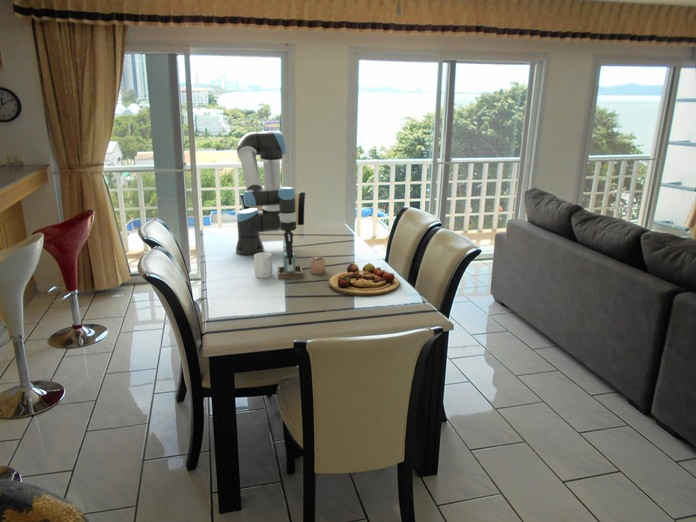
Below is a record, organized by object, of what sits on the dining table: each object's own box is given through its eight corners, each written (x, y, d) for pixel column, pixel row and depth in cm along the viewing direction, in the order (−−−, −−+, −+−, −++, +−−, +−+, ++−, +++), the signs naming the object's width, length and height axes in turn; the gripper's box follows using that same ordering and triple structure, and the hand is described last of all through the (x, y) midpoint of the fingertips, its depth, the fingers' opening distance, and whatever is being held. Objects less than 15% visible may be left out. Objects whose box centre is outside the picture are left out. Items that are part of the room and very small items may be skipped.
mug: (272, 280, 244) (271, 259, 241) (254, 281, 243) (252, 260, 240) (273, 272, 255) (271, 252, 252) (255, 273, 254) (254, 252, 251)
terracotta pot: (310, 270, 258) (309, 256, 256) (324, 269, 259) (324, 255, 257) (311, 274, 251) (311, 260, 249) (326, 274, 252) (325, 259, 250)
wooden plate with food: (348, 302, 217) (348, 283, 215) (317, 279, 245) (317, 262, 242) (413, 291, 231) (414, 273, 229) (377, 270, 258) (378, 254, 256)
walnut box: (277, 271, 256) (277, 267, 255) (301, 270, 258) (301, 265, 257) (278, 279, 245) (278, 274, 245) (303, 277, 247) (303, 272, 246)
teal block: (294, 272, 254) (294, 252, 251) (295, 275, 249) (294, 254, 247) (284, 272, 253) (283, 252, 250) (284, 275, 249) (283, 255, 246)
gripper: (278, 216, 253) (281, 262, 259) (280, 226, 234) (282, 275, 241) (294, 216, 254) (296, 262, 260) (297, 225, 235) (299, 274, 242)
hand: (289, 268), depth 251 cm, fingers open, 7 cm apart
